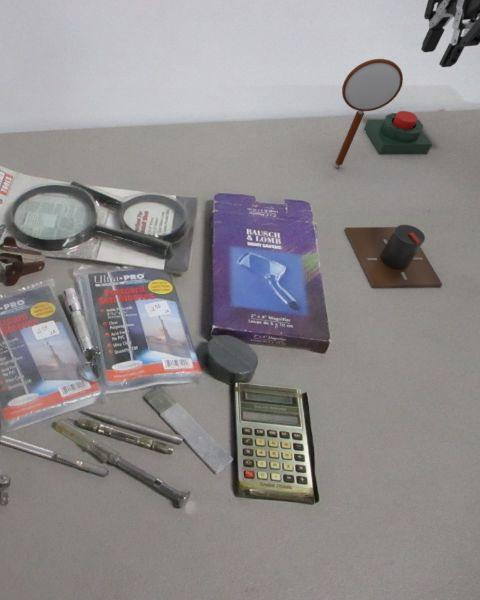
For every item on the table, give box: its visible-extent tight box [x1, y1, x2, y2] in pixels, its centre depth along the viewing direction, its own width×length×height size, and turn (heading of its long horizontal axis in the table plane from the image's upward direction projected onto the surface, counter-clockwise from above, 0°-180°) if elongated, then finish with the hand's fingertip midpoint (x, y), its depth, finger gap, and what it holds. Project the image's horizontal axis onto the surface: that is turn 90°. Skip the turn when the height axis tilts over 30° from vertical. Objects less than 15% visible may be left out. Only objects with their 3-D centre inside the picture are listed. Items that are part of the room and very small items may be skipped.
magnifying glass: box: [334, 58, 404, 169], centre depth 97 cm, size 9×2×20 cm, turn 81°
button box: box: [363, 112, 433, 155], centre depth 109 cm, size 9×8×4 cm
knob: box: [381, 224, 426, 269], centre depth 85 cm, size 4×4×5 cm
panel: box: [343, 226, 443, 289], centre depth 88 cm, size 10×12×3 cm
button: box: [393, 110, 419, 130], centre depth 107 cm, size 4×4×2 cm
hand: (436, 57), depth 98 cm, fingers open, 4 cm apart
